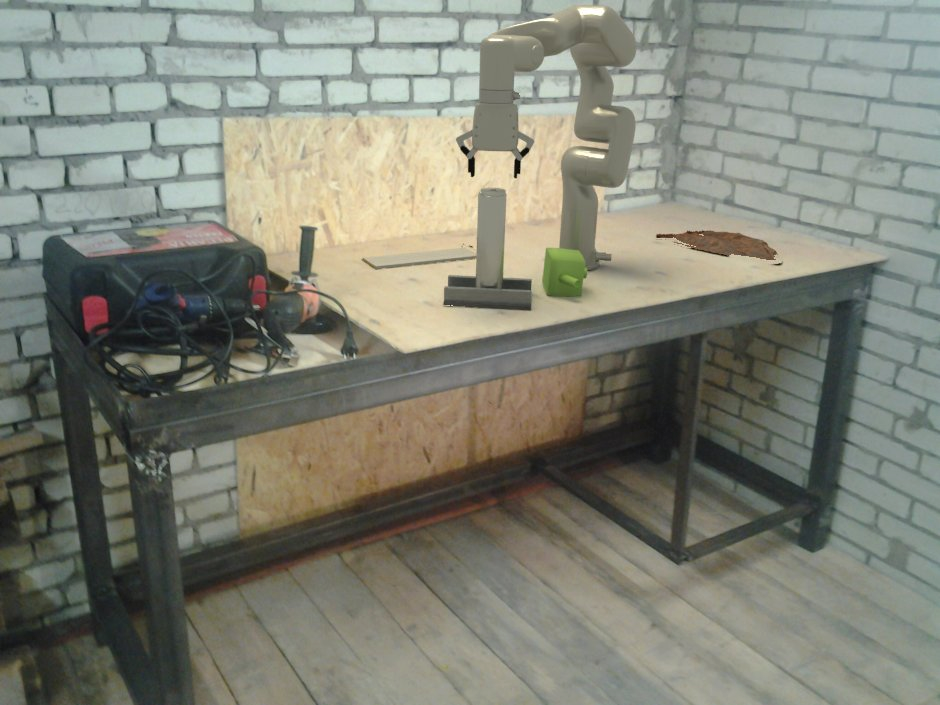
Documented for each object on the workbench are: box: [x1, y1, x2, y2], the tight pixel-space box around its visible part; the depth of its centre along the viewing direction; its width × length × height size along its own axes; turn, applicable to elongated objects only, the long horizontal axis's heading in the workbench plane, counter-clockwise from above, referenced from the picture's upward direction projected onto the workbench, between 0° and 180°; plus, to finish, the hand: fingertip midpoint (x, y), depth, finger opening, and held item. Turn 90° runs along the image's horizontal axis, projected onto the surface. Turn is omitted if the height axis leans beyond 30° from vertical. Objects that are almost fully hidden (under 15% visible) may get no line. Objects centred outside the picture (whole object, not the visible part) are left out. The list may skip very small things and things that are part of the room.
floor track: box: [442, 274, 533, 311], centre depth 205 cm, size 20×13×4 cm, turn 86°
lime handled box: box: [542, 247, 588, 297], centre depth 212 cm, size 18×10×10 cm, turn 2°
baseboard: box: [361, 243, 477, 270], centre depth 239 cm, size 31×3×12 cm
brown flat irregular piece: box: [655, 229, 778, 260], centre depth 260 cm, size 40×28×5 cm
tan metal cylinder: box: [475, 187, 507, 289], centre depth 201 cm, size 6×6×25 cm
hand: (494, 176), depth 196 cm, fingers open, 9 cm apart
